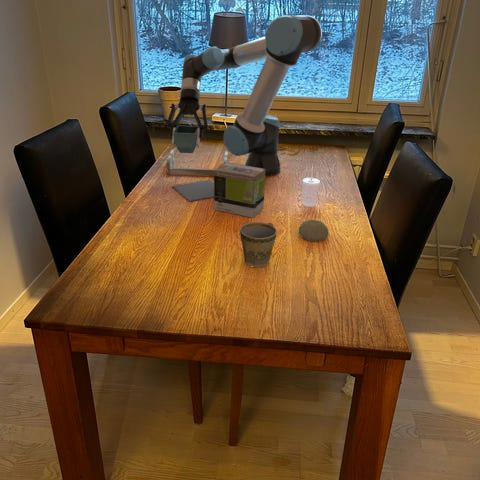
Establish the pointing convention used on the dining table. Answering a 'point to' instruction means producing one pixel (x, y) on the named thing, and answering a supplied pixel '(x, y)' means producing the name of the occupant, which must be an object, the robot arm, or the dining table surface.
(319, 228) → the sea urchin shell
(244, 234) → the ceramic cup
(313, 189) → the beverage cup
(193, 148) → the flower pot
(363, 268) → the dining table surface
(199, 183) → the mat
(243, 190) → the tea box
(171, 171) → the holder
